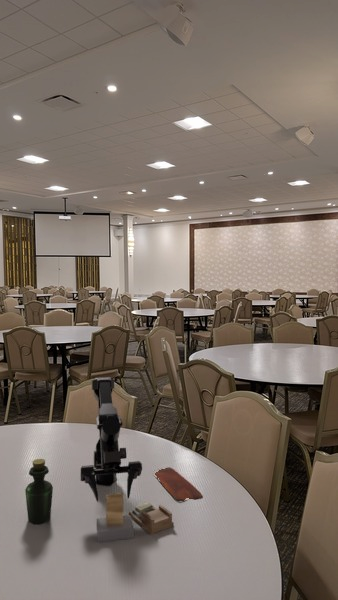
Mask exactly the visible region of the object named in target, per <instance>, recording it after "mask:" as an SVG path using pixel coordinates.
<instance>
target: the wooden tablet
mask: <svg viewBox="0 0 338 600" xmlns="http://www.w3.org/2000/svg"><path fill="white" fill-rule="evenodd" d="M164 468H165V469H163V468H160V469H161V470H160V469H158V470H159V471H158V472H156V473H155V475H156V476H157V478H159V480H160V482H161V483H162V484H161V483H160V482H159V483H160V484H161V485H162V486H163V487H164V488H165V489H166V490H167V492H168V493H169V494H170V496H171V497H172V498H173V497H174V498H175V499H176V500H177V501H176V500H175V499H174V498H173V499H174V500H175V501H176V502H178V501H183V502H185V501H184V500H185V499H186V498H189V499H194V500H198V499H199V498H200V499H202V498H203V494H202V493H201V492H200V490H198V489H197V488H196V487H195V486H194V485H193V484H192V483H191V482H190V481H188V480H187V479H186V478H185V477H184V476H182V475H181V474H180V473H179V472H178V471H177V470H176V469H173V468H172V467H164ZM157 478H156V479H157Z"/></svg>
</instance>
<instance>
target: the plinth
mask: <svg viewBox="0 0 338 600" xmlns="http://www.w3.org/2000/svg"><path fill="white" fill-rule="evenodd" d="M132 520H133V519H132V518H131V516H130V515H129V514H125V515H124V514H123V525H114V526H107V523H106V517H100V518H99V517H98V518H96V527H95V528H96V537H97V543H101V542H102V543H103V542H110V541H111V542H112V541H118V540H125V539H126V540H127V539H134V536H135V534H134V533H135V532H134V529H135V528H134V524H133V521H132Z"/></svg>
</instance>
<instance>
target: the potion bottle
mask: <svg viewBox="0 0 338 600" xmlns="http://www.w3.org/2000/svg"><path fill="white" fill-rule="evenodd" d="M49 472H50V470H49V468H48V466H47V465H46V459H44V458H37V459H34V460H32V467H31V468H30V469H29V472H28V475H29V476H31V477H32V478H33V481H32V482H30V483H29V484H27V486H26V487H25V490H24V491H25V501H26V510H27V520H28V522H29V523H30V524H32V525H43V524H45V523H47V522H49V521H50V518H51V515H52V502H53V490H54V486H53V484H52V483H51V482H50V481H48V480H45V477H46V475H48V474H49Z"/></svg>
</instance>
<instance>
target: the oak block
mask: <svg viewBox="0 0 338 600" xmlns="http://www.w3.org/2000/svg"><path fill="white" fill-rule="evenodd" d="M105 499H106V500H105V502H106V503H105V506H106V507H105V514H106V515H105V518H106V523H107V526H114V525H123V516H124V496H123V493H121V492H120V493H112V494H111V493H110V494H106V495H105Z"/></svg>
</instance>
